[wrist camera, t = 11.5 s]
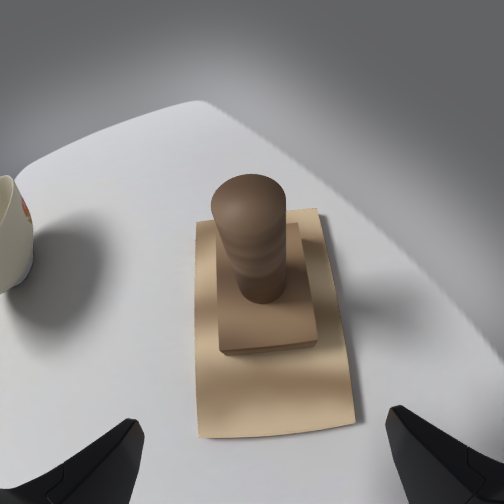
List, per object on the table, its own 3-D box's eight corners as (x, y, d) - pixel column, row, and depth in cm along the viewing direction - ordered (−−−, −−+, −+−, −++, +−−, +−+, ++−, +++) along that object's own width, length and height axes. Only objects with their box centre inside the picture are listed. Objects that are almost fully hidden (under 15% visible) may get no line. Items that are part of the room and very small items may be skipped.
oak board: (352, 422, 19) (355, 422, 18) (202, 436, 19) (198, 437, 18) (315, 214, 29) (316, 207, 28) (199, 227, 29) (196, 222, 29)
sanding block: (314, 346, 21) (344, 289, 11) (225, 355, 22) (171, 308, 11) (297, 238, 26) (300, 131, 16) (221, 247, 27) (184, 146, 16)
